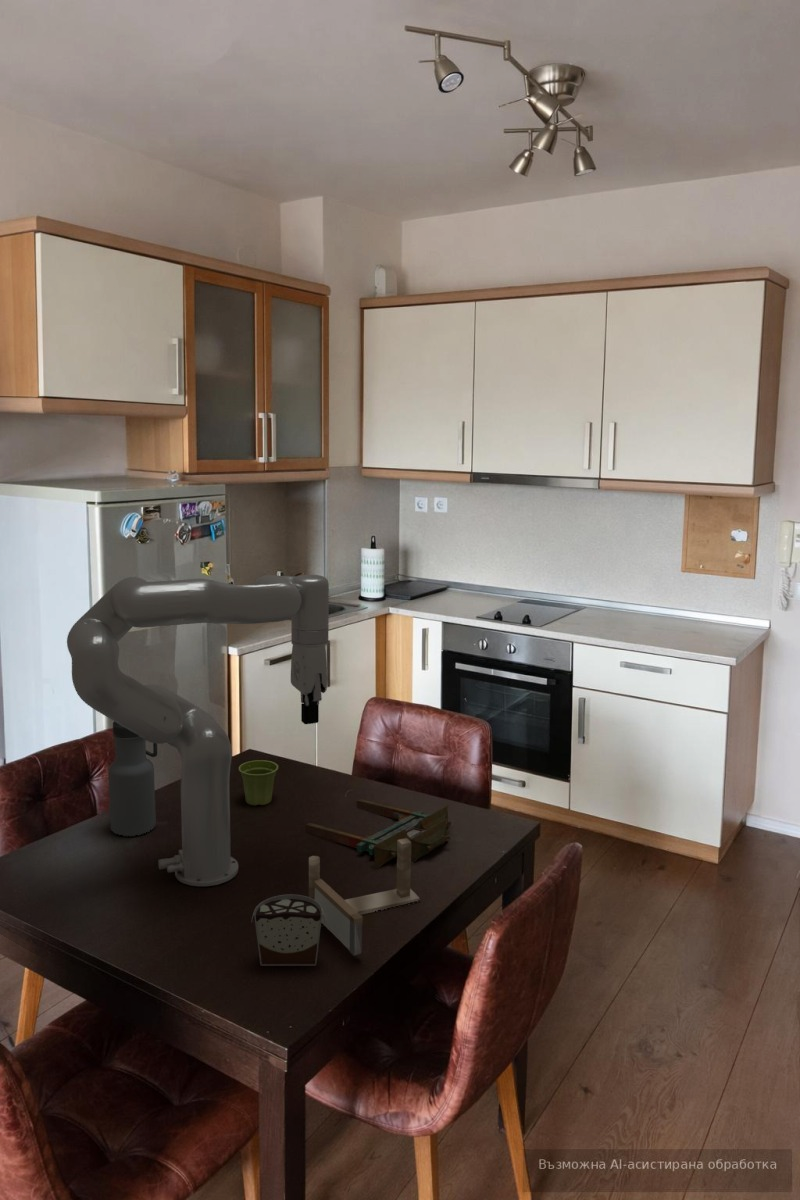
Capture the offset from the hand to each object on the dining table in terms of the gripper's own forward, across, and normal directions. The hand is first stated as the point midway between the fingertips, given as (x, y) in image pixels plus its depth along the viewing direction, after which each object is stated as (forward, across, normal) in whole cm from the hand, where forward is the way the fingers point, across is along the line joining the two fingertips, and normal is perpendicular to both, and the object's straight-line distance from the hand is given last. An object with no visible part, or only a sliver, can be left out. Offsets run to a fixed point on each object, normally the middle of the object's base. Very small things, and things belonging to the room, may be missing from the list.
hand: (309, 722), depth 191 cm
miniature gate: (+30, -2, +18) cm, 35 cm away
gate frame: (+29, +25, 0) cm, 38 cm away
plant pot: (+29, -31, -2) cm, 43 cm away
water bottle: (+29, -27, -32) cm, 51 cm away
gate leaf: (+28, +34, -7) cm, 44 cm away
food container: (+29, +35, -16) cm, 48 cm away
